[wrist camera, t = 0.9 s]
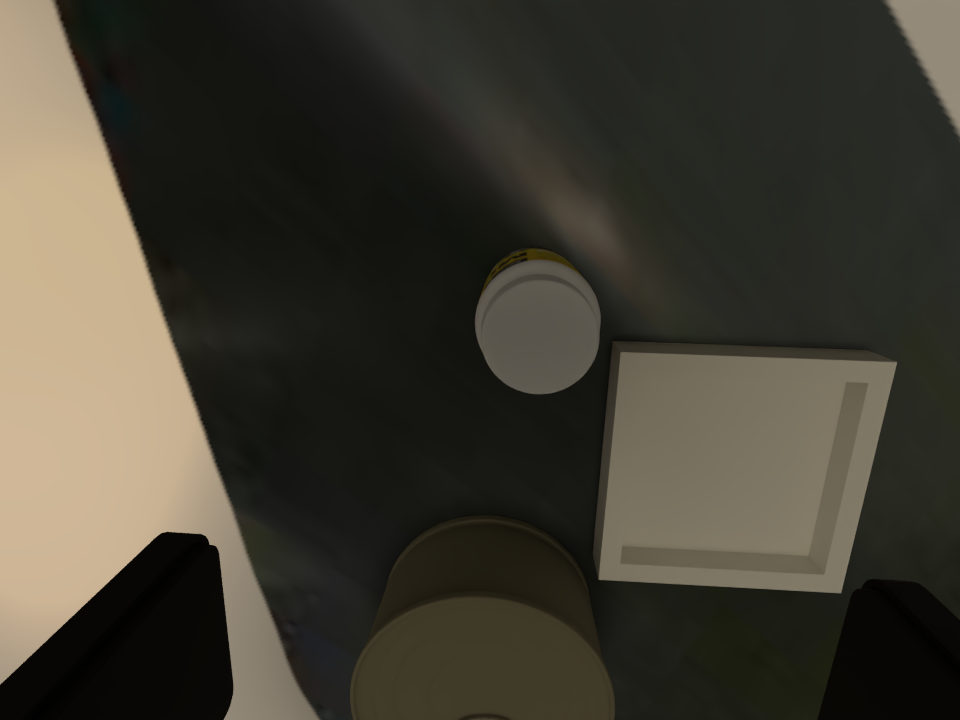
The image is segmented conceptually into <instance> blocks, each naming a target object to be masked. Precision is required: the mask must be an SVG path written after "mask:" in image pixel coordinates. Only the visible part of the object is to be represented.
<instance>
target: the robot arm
mask: <svg viewBox="0 0 960 720" xmlns="http://www.w3.org/2000/svg"><path fill="white" fill-rule="evenodd" d="M232 696H233V677H232V668H231V660H230V650H229V641H228V632H227V623H226V614H225V605H224V595H223V586H222V577H221V568H220V559H219V552H218V549H217V547H216V546H213V545H209V541H208V539H207V538H206V536H204V535H202V534H190V533H175V532H165V533H161V534H160V535H159V536H157V537H156V538H155V539H154V540H153V541H152V542H151V543H150V544H149V545H147V546H146V547H145V548H144V549H143V550H142V551H141V552H140V553H139V554H138V555H137V556H136V557H135V558H134V559H133V560H132V561H131V562H129V563H128V564H127V566H125V567H124V568H123V569H122V570H121V571H120V572H119V573H118V574H117V575H116V576H115V577H114V578H113V579H112V580H110V582H108V583H107V584H106V585H105V586H104V587H103V588H102V589H101V590H100V591H99V592H98V593H97V594H96V595H95V596H94V597H93V598H91V599H90V601H88V603H86V604H85V605H84V606H83V607H82V608H81V609H80V610H79V611H78V612H77V613H76V614H75V615H74V616H72V618H70V619H69V620H68V621H67V622H66V623H65V624H64V625H63V626H62V627H61V628H60V629H59V630H58V631H57V632H56V633H55V634H53V635H52V636H51V637H50V638H49V639H48V640H47V641H46V642H45V643H44V644H43V645H42V646H41V647H40V648H39V649H38V650H37V651H36V652H35V653H33V654H32V656H30V657H29V658H28V659H27V660H26V661H25V662H24V663H23V664H22V665H21V666H20V667H19V668H18V669H17V670H15V672H13V673H12V674H11V675H10V676H9V677H8V678H7V679H6V680H5V681H4V682H3V683H2V684H1V685H0V720H224V718H225V716H226V714H227V712H228V709H229V707H230V704H231V700H232ZM818 720H960V620H959V619H958V618H957V617H956V616H955V615H954V614H953V613H951V612H950V611H949V610H948V609H947V608H946V607H945V606H944V605H943V604H942V603H941V602H940V601H939V600H938V599H936V598H935V597H934V596H933V595H932V594H931V593H930V592H929V591H928V590H927V589H926V588H924V587H923V586H921V585H920V584H919V583H915V582H912V581H897V580H882V579H871V580H867V581H866V582H865V583H864V584H863V586H862V588H861V589H856V590H855V591H854V592H853V593H852V596H851V598H850V602H849V606H848V609H847V613H846V617H845V620H844V624H843V628H842V631H841V635H840V639H839V642H838V646H837V650H836V654H835V657H834V661H833V665H832V668H831V672H830V676H829V679H828V683H827V687H826V690H825V694H824V698H823V701H822V705H821V709H820V713H819V716H818Z"/></svg>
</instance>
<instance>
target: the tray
mask: <svg viewBox="0 0 960 720" xmlns="http://www.w3.org/2000/svg"><path fill="white" fill-rule="evenodd" d="M896 364H897V362H895V361H893V360H890V359H888V358H885V357H883V356H880V355H878V354H876V353H873V352H871V351H868V350H853V349H825V348H797V347H769V346H741V345H714V344H686V343H658V342H630V341H612V352H611V363H610V373H609V384H608V395H607V406H606V416H605V427H604V438H603V448H602V459H601V470H600V481H599V491H598V502H597V513H596V524H595V534H594V545H593V558H594V562H595V567H596V571H597V575H598V579H599V580H614V581H632V582H650V583H668V584H686V585H704V586H722V587H740V588H758V589H776V590H794V591H812V592H830V593H841V591H842V587H843V583H844V579H845V574H846V570H847V566H848V562H849V558H850V554H851V550H852V546H853V541H854V537H855V533H856V529H857V525H858V521H859V517H860V513H861V508H862V504H863V500H864V496H865V492H866V488H867V484H868V480H869V476H870V471H871V467H872V463H873V459H874V455H875V451H876V447H877V443H878V438H879V434H880V430H881V426H882V422H883V418H884V414H885V410H886V405H887V401H888V397H889V393H890V389H891V385H892V381H893V377H894V372H895V368H896Z"/></svg>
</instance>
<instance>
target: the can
mask: <svg viewBox="0 0 960 720" xmlns="http://www.w3.org/2000/svg"><path fill="white" fill-rule="evenodd" d="M350 704H351V711H352V716H353V719H354V720H614V717H615V700H614V692H613V687H612V683H611V678H610V675H609V673H608V670H607V667H606V665H605V663H604V661H603V658H602V654H601V649H600V645H599V640H598V635H597V631H596V626H595V621H594V616H593V612H592V607H591V603H590V595H589V591H588V586H587V583H586V580H585V577H584V575H583V573H582V571H581V568H580V567H579V565H578V563H577V562H576V560H575V559H574V557H573V556H572V555H571V554H570V552H569V551H568V550H567V549H566V548H565V547H564V546H563V545H562V544H561V543H560V542H558V541H557V540H556V539H555V538H553V537H552V536H551V535H549V534H548V533H546V532H544V531H543V530H541V529H539V528H537V527H535V526H533V525H531V524H528V523H526V522H523V521H520V520H517V519H513V518H509V517H503V516H495V515H473V516H465V517H460V518H455V519H452V520H448V521H445V522H443V523H440V524H438V525H436V526H434V527H432V528H430V529H428V530H426V531H425V532H423V533H422V534H420V535H419V536H418V537H416V538H415V539H414V540H413V541H412V542H411V543H410V544H409V545H408V546H407V547H406V548H405V549H404V550H403V552H402V553H401V554H400V556H399V557H398V559H397V560H396V562H395V564H394V566H393V568H392V571H391V573H390V576H389V579H388V582H387V586H386V590H385V592H384V595H383V598H382V601H381V603H380V606H379V609H378V612H377V615H376V618H375V621H374V624H373V627H372V630H371V633H370V636H369V639H368V641H367V642H366V644H365V645H364V647H363V649H362V651H361V653H360V655H359V657H358V660H357V663H356V665H355V668H354V671H353V676H352V680H351V687H350Z"/></svg>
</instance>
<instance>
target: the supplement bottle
mask: <svg viewBox="0 0 960 720" xmlns="http://www.w3.org/2000/svg"><path fill="white" fill-rule="evenodd" d="M600 324H601V314H600V309H599V305H598V301H597V298H596V295H595V293H594V292H593V290H592V288H591V286H590V285H589V284H588V282H587V281H586V280H585V279H584V278H583V277H582V275H581V274H580V273H579V272H578V271H577V270H576V269H575V268H574V266H573V265H572V264H571V263H570V262H569V261H568V260H567V259H565V258H564V257H563V256H561V255H560V254H558V253H556V252H554V251H551V250H549V249H545V248H537V247H531V248H524V249H520V250H517V251H514V252H512V253H510V254H508V255H507V256H505V257H504V258H502V259H501V260H500V261H499V262H498V263H497V264H496V265H495V266H494V268H493V269H492V270H491V272H490V274H489V276H488V278H487V280H486V283H485V285H484V288H483V291H482V294H481V297H480V299H479V303H478V306H477V309H476V315H475V329H476V336H477V340H478V343H479V346H480V348H481V350H482V352H483V354H484V357H485V360H486V362H487V364H488V366H489V367H490V369H491V370H492V371H493V373H494V374H495V375H496V376H497V377H498V378H499V379H500V380H501V381H503V382H504V383H505V384H507V385H508V386H510V387H512V388H514V389H516V390H519V391H522V392H526V393H531V394H549V393H554V392H557V391H560V390H563V389H565V388H567V387H569V386H571V385H572V384H574V383H575V382H577V381H578V380H579V379H580V378H581V377H583V375H584V374H585V373H586V372H587V371H588V369H589V368H590V366H591V365H592V363H593V361H594V359H595V357H596V354H597V351H598V346H599V336H600V334H599V332H600Z"/></svg>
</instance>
